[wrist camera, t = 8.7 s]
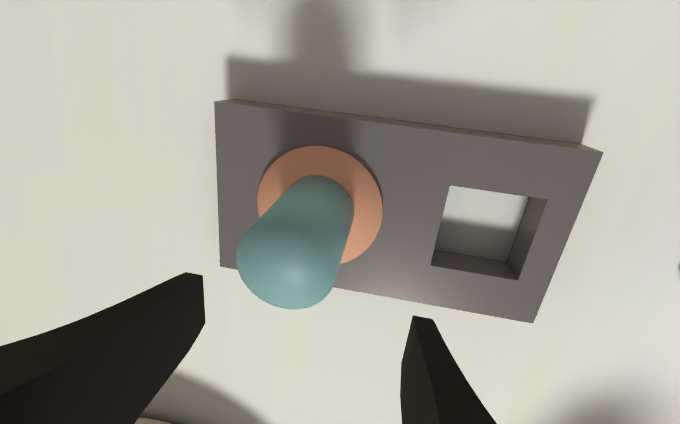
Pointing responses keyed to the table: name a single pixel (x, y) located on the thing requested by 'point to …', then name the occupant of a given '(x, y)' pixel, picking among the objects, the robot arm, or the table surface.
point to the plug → (297, 244)
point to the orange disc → (340, 170)
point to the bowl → (150, 421)
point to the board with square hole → (415, 200)
